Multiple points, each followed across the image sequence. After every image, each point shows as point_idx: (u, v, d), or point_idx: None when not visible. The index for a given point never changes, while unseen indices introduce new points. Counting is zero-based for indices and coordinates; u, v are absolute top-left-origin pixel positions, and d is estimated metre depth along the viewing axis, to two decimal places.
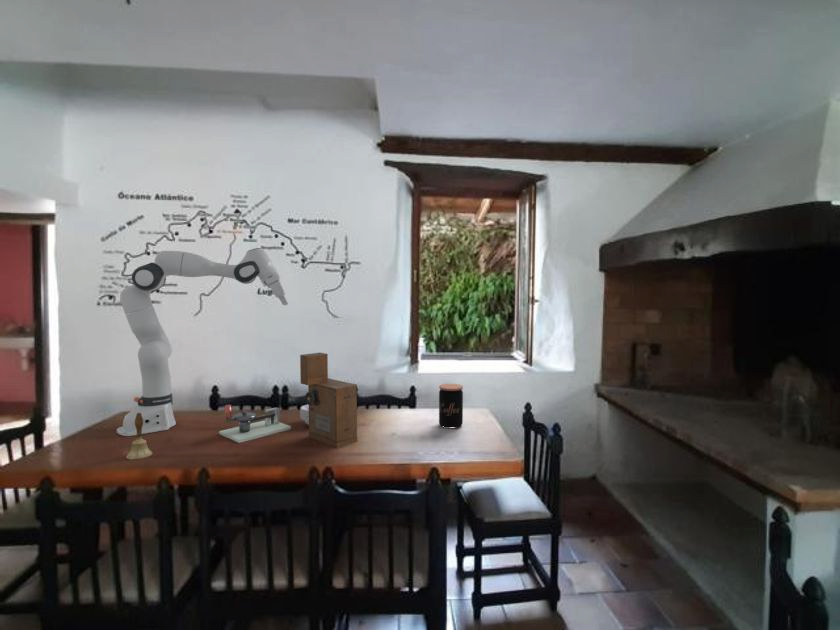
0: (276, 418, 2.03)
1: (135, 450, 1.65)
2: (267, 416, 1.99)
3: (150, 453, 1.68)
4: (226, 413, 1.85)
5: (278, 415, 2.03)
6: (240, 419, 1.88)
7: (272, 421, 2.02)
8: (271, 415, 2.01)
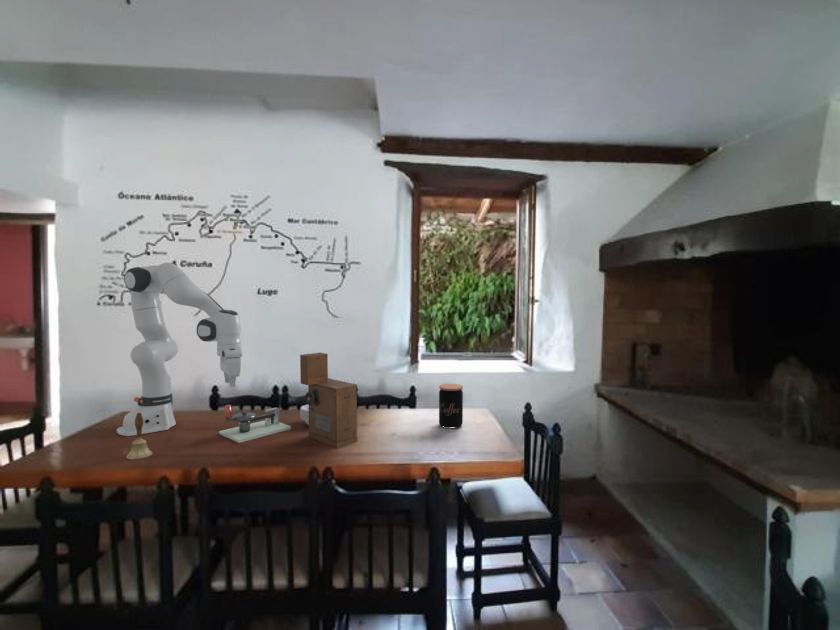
0: (276, 418, 2.03)
1: (135, 450, 1.65)
2: (267, 416, 1.99)
3: (150, 453, 1.68)
4: (226, 413, 1.85)
5: (278, 415, 2.03)
6: (240, 419, 1.88)
7: (272, 421, 2.02)
8: (271, 415, 2.01)
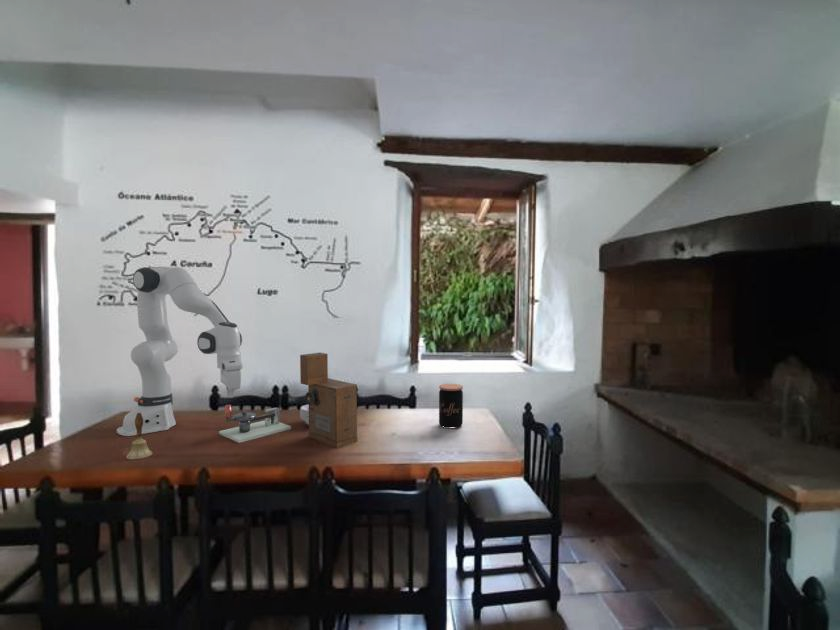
0: (276, 418, 2.03)
1: (135, 450, 1.65)
2: (267, 416, 1.99)
3: (150, 453, 1.68)
4: (226, 413, 1.85)
5: (278, 415, 2.03)
6: (240, 419, 1.88)
7: (272, 421, 2.02)
8: (271, 415, 2.01)
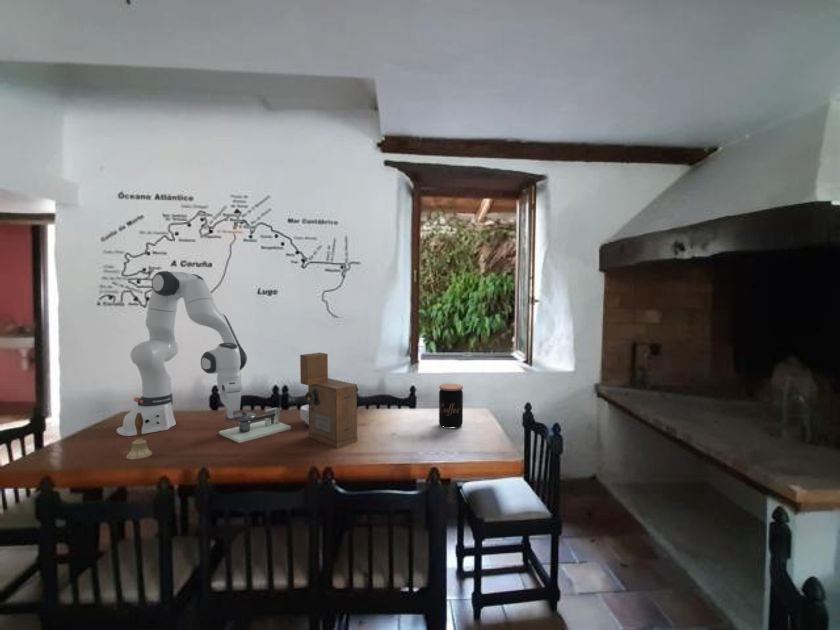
0: (276, 418, 2.03)
1: (135, 450, 1.65)
2: (267, 416, 1.99)
3: (150, 453, 1.68)
4: (226, 413, 1.85)
5: (278, 415, 2.03)
6: (240, 419, 1.88)
7: (272, 421, 2.02)
8: (271, 415, 2.01)
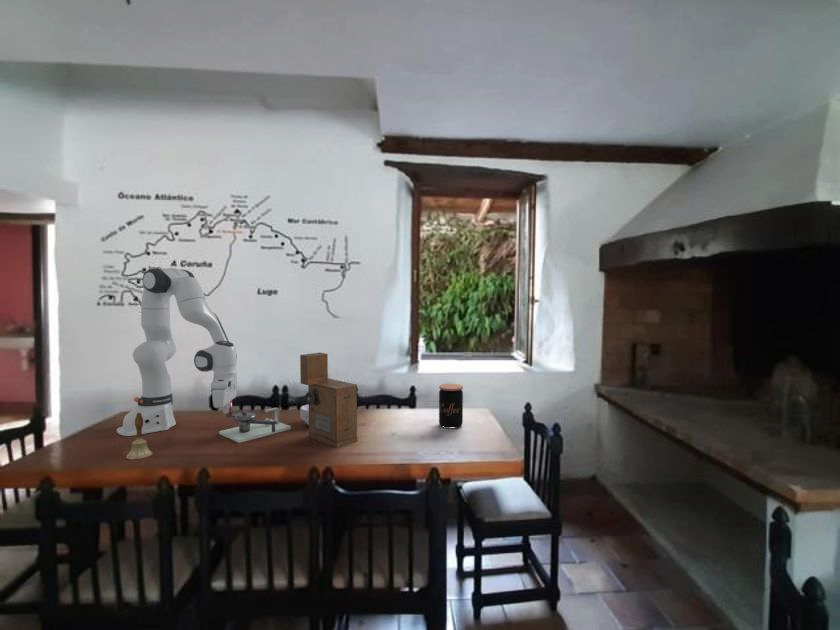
0: (276, 418, 2.03)
1: (135, 450, 1.65)
2: (266, 422, 1.90)
3: (150, 453, 1.68)
4: None
5: (278, 415, 2.03)
6: (233, 418, 1.90)
7: (272, 429, 1.90)
8: (270, 423, 1.90)
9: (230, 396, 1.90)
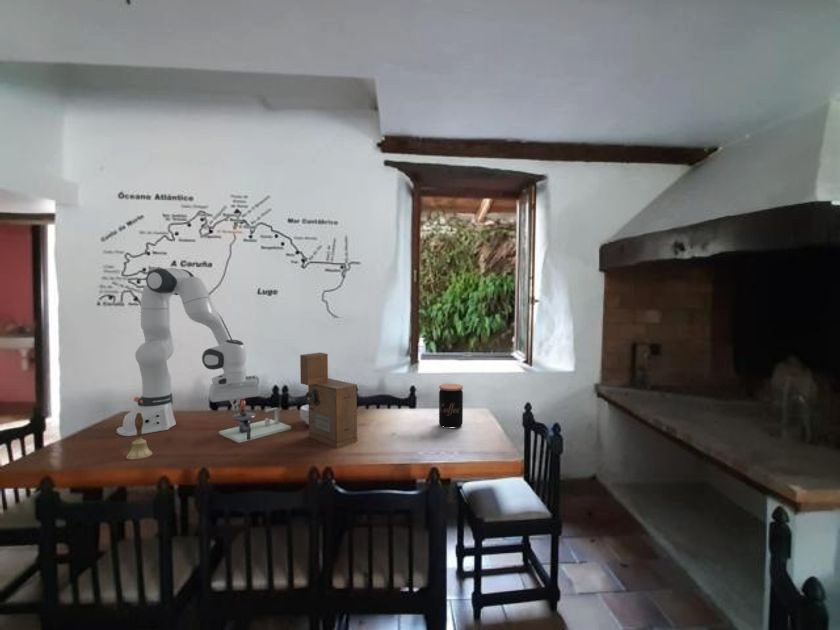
0: (276, 418, 2.03)
1: (135, 450, 1.65)
2: (245, 428, 1.83)
3: (150, 453, 1.68)
4: None
5: (278, 415, 2.03)
6: None
7: None
8: (246, 429, 1.81)
9: (237, 394, 1.95)
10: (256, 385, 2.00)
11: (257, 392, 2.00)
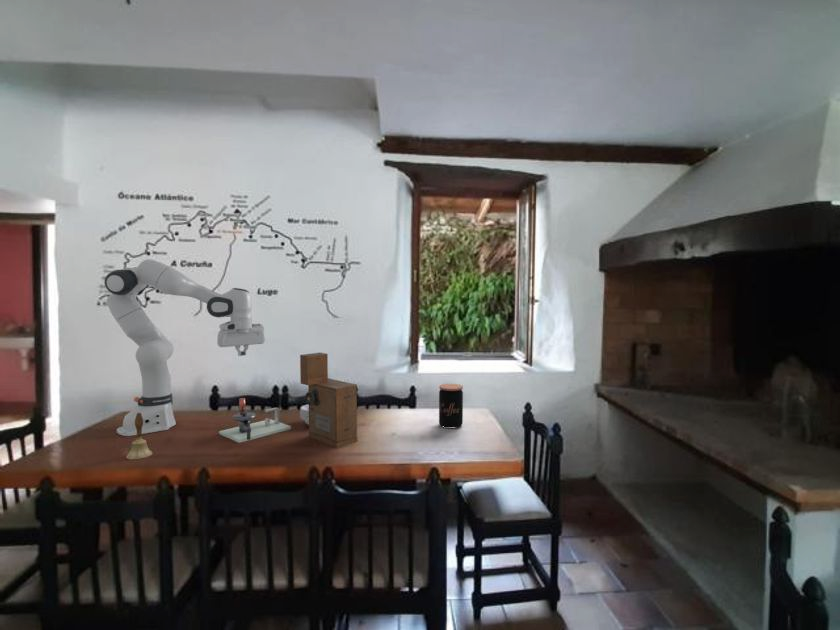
0: (276, 418, 2.03)
1: (135, 450, 1.65)
2: (245, 428, 1.83)
3: (150, 453, 1.68)
4: None
5: (278, 415, 2.03)
6: None
7: None
8: (246, 429, 1.81)
9: (245, 340, 2.02)
10: (261, 333, 2.07)
11: (262, 339, 2.07)
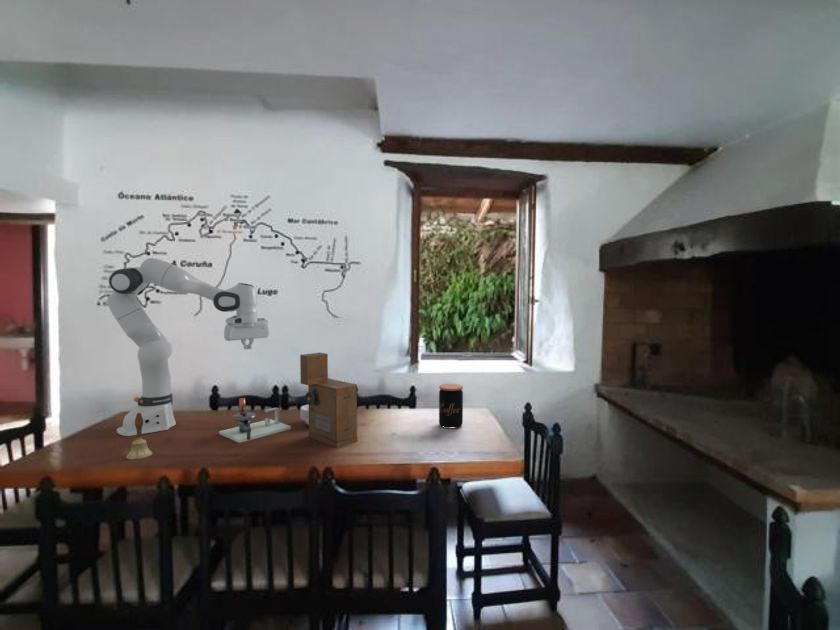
0: (276, 418, 2.03)
1: (135, 450, 1.65)
2: (245, 428, 1.83)
3: (150, 453, 1.68)
4: None
5: (278, 415, 2.03)
6: None
7: None
8: (246, 429, 1.81)
9: (250, 334, 2.07)
10: (266, 327, 2.13)
11: (267, 333, 2.13)
